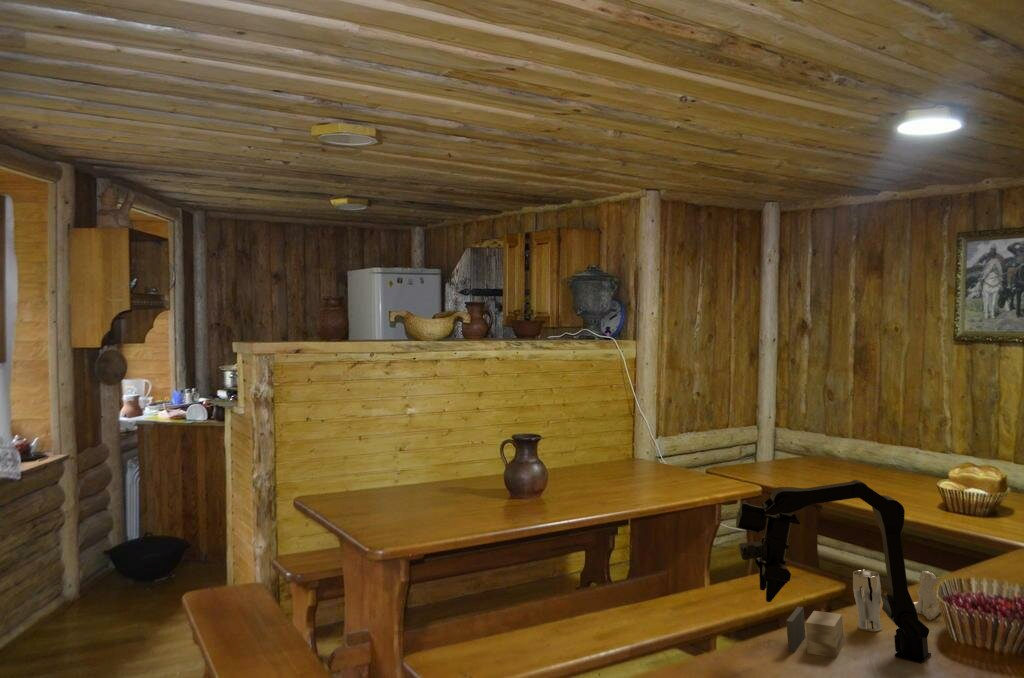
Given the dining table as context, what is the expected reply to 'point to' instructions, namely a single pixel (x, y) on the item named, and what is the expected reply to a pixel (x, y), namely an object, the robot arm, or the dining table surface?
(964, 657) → the dining table surface
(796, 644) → the backstop board
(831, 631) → the maple block
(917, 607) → the sitting furry creature
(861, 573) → the beer glass
